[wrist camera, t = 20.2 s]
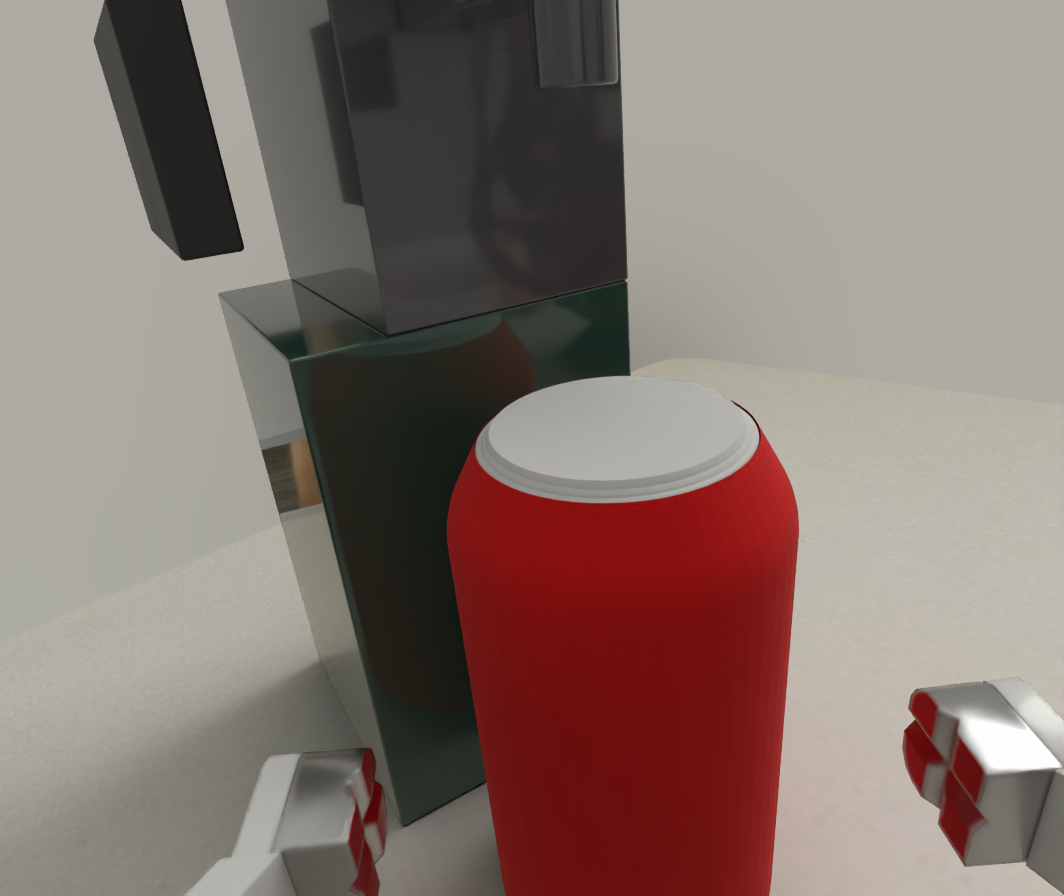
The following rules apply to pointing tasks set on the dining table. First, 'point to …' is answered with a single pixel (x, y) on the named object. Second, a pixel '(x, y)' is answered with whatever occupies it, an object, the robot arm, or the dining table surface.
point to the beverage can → (627, 636)
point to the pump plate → (167, 126)
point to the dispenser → (419, 312)
